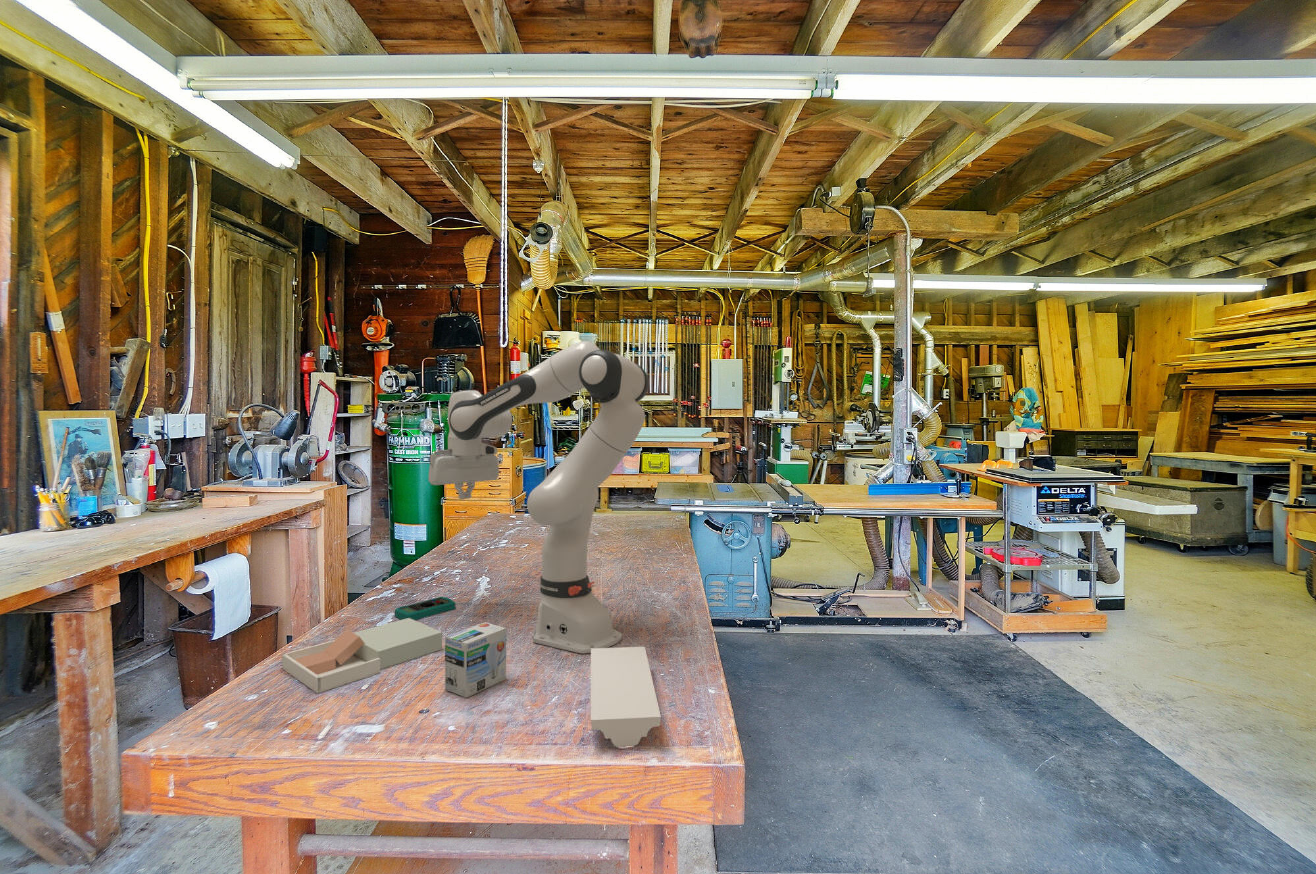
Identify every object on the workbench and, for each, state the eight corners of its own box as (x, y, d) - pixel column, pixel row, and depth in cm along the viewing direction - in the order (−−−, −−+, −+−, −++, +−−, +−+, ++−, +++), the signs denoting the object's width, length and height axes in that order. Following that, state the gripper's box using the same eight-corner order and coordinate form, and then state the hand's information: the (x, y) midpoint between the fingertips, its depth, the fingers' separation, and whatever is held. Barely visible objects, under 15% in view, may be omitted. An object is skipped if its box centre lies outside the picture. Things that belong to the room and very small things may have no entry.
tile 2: (364, 643, 131) (359, 636, 130) (340, 665, 127) (334, 658, 126) (353, 636, 135) (347, 629, 134) (329, 657, 131) (323, 650, 130)
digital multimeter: (457, 610, 167) (457, 599, 167) (407, 624, 156) (407, 613, 156) (443, 604, 172) (443, 594, 172) (393, 618, 160) (393, 607, 160)
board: (442, 649, 138) (442, 632, 138) (378, 670, 127) (378, 651, 127) (408, 633, 148) (408, 617, 148) (346, 652, 136) (346, 634, 136)
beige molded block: (590, 751, 97) (590, 720, 97) (590, 672, 127) (590, 648, 127) (660, 747, 99) (660, 716, 98) (644, 670, 128) (644, 646, 128)
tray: (380, 672, 125) (380, 658, 125) (317, 693, 116) (317, 678, 116) (341, 650, 137) (341, 638, 137) (282, 668, 127) (281, 654, 127)
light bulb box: (466, 699, 114) (466, 643, 114) (443, 690, 118) (443, 636, 117) (507, 678, 123) (507, 627, 123) (485, 671, 127) (485, 621, 127)
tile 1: (304, 667, 121) (304, 678, 121) (335, 658, 126) (335, 669, 126) (293, 659, 125) (293, 669, 125) (324, 651, 130) (324, 661, 130)
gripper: (436, 450, 155) (436, 503, 155) (502, 448, 171) (502, 496, 171) (423, 449, 159) (423, 501, 159) (488, 447, 175) (488, 494, 175)
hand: (464, 498), depth 165 cm, fingers closed
